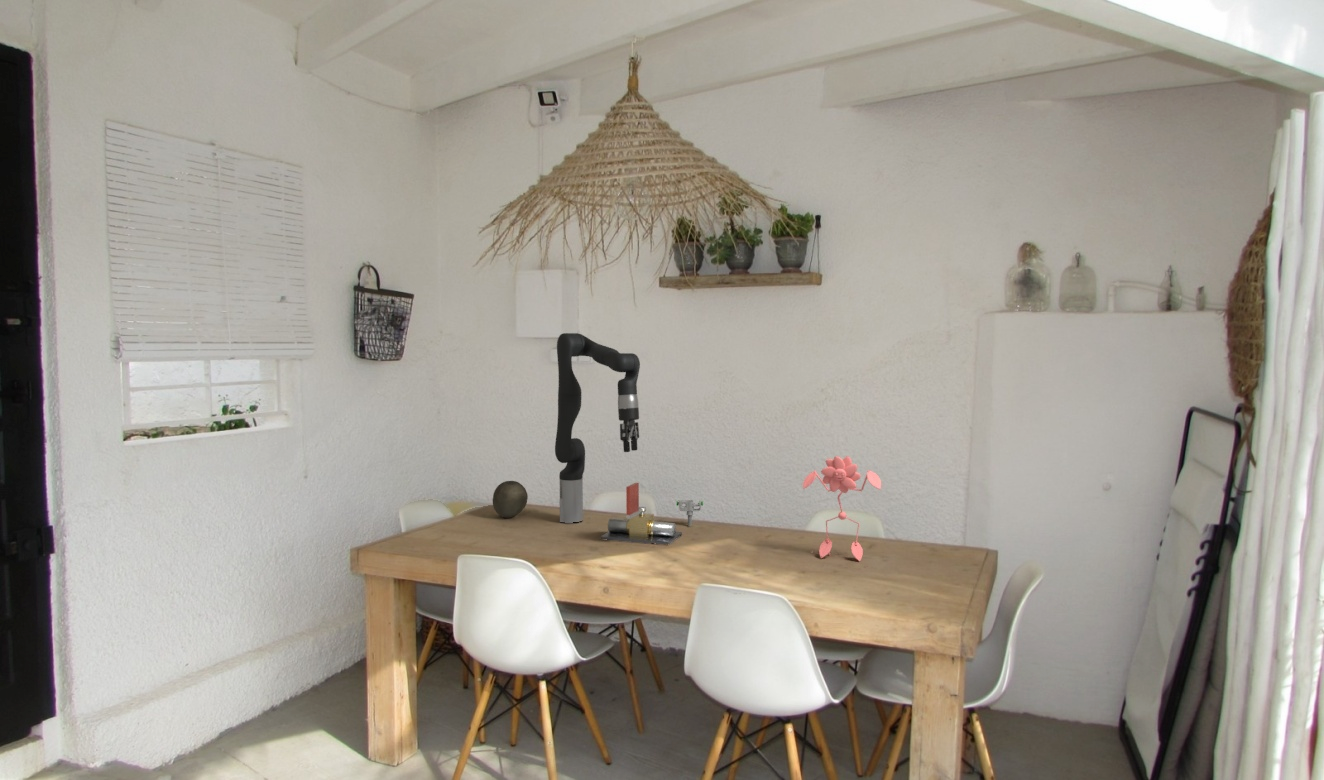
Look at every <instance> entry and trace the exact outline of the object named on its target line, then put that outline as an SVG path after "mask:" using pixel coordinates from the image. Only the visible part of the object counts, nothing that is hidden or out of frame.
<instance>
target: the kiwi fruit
mask: <svg viewBox="0 0 1324 780" xmlns="http://www.w3.org/2000/svg"><path fill="white" fill-rule="evenodd" d="M492 495H493V496H492V506H493V509H494V511H495V512H496V514H497V515H498V516H500V517H502V518H504V519H510V518H513V517H516V516H518V515H519V514H520V513H521V512H522V511H523V510H524V509H525V507H526V506H527V504H528V497H529V496H528V492H527V490H526V487H525V486H523V484H522V483H520V482H519V481H516V480H505V481H503V482H501V483H500V484H498V485H497V486H496V488H495V490H494V492H493V494H492Z"/></svg>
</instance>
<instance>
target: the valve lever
mask: <svg viewBox="0 0 1324 780" xmlns="http://www.w3.org/2000/svg"><path fill="white" fill-rule="evenodd" d="M639 484H640V482H634V483H632V484H630V485H628V486H626V490H625V491H626V496H625V499H626V514H625V518H626V519H630V518H632V517H634V516H636V515H638V514H639V513H641V512H644V513H645V512H646V511H647V507H646V506H640V501H639V498H640V496H639V495H640V494H639V493H640V486H639Z"/></svg>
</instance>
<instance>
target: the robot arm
mask: <svg viewBox="0 0 1324 780" xmlns="http://www.w3.org/2000/svg"><path fill="white" fill-rule="evenodd" d="M556 354H557V355H556V356H557V367H558V368H557V369H558V371H557V372H558V387H557V388H558V389H557V391H558V392H557V424H556V425H557V426H556V436H555V445H554V452H555V453H554V454H555V457H556V460H557V461H558V462H559V463H561V464H565V466H564V468H562V469H561V470H560V472H559V479H558V480H559V523H560V522H565V523H564V524H574V523H573V522H579V521H582V520H583V521H584V503H583V502H584V501H583V497H584V494H583V493H584V492H583V488H584V487H583V484H584V482H583V479H584V478H583V476H584V472H585V465H586V464H585V463H586V448H585V445H584V442H583V441H582V440H581V439H580V438H578V437H573V436H572V434H573V427H574V424H575V422H576V420H577V419H578V418H577V417H578V416H579V414H580V411H581V408H582V388H581V385H580V383H579V381H578V379H577V377H576V375H575V373H574V371H573V364H572V362H573V361H572V357H573V358H574V357H590V358H592V360H593V361H595V362H596V363H598V364H599V365H603V366H605V367H608V368H609V369H611V370H612V371H614V372H618V373H625V374H624V378H621V379H619V380H618V381H617V411H618V414H617V415H618V420H619V421H620V422H622V421H623V423H620V424H619V435H620V437H619V439H620V441H621V442H623V443H622V445H623V452H624V453H629V452H631V451H633V452H634V451H637V450H638V441H639V438H640V432H639V431H640V430H639V422H638V421H637V420H639V419H640V411H639V407H640V406H639V399H638V390H637V387H638V386H637V382H638V378H639V373H640V368H641V366H640V365H641V363H640V358H639V356H638V355H637V354H635V353H633V352H632V353H628V352H627V353H625V352H619V351H618V350H617V349H615V348H611V347H609V346H607V345H603V344H601V343H600V344H599V343H597V342H595V341H593V340H592V339H590V338H589V337H587V336H585V335H583V334H581V333H576V332H575V333H573V332H567V333H561V334H560V335H558V337H557V341H556ZM636 421H637V422H636ZM572 437H573V438H572ZM583 521H582V522H583ZM579 523H580V522H579Z"/></svg>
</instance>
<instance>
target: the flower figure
mask: <svg viewBox="0 0 1324 780" xmlns="http://www.w3.org/2000/svg"><path fill="white" fill-rule="evenodd" d="M825 464H826V467H824V468H822V470H820V473H821V474H822V475H823V478H821V477H820V476H819V474H818V473H817V470H813V472H810V473H809V474H808V475H807V476H806V477H805V478H804V480H803V482H802V489H803V490H805V489H807V488H808V487H809V486H811V485H812V484H813V483H814V481H815V480H816V477H817V479H818V480H819V481H820V483H821V484H822V485H823V487H824V488H825V489H826V490H827V492H832V493H835V492H837V491H838V490H840V492H839V494H838V495H837V502H838V505H839V508H840V511H839V512H838V515H837V516H835V517H833V518H830V519H827V520H826V521H825V528H826V539H824V540H823V541H822V542H821V544H820V545H819V549H818V551H819V558H820V559H823V558H824V557H826V556H831V550H832V547H833V541H832V540H831V539H830V538H829V532H828V531H829V530H828V522H829V521H833V520H835V519H839V520H842V521H844V520H846V519H847V520H849V521H851V522H853V523H856V524H857V529H856V538H855V541H853V542H852V543H851V547H850V551H851V553H852V556H853V557H854V558H855V559H856V560H858V562H861V560H862V557H863V555H864V554H863V553H864V550H863V547H862V546H861V544H860V543H859V542H858V537H859V528H860V522H858V521H855V520H853V519H852V518H850V517H847V513H846V511H843V506H842V504H841V499H840V497H841V495H842V494H847V493H848V491H849V490H850V491H851V490H852V491H855V492H857V491H858V492H863V490H864V487H865V485H866V482H867V480H868V482H869V484H870V485H871V486H873V487H874V488H875V489H877V490H881V489H882V480H881V478H880V476H879V475H878V474H877V473H875V472H874V471H871V470H870V469H867V472H866V476H865V478H864V481H863V483H862V486H861V489H860V488H857V483H856V481H858V480H859V479H861V477H862V475H861V473H859V472H857V471H858V465H857V464H856V463H854V464H853V460H852V458H851V457H850V456H845V457H844V458H841V457H839V456H837V455H836V456H834V457H833V459H832V458H827V459H825ZM828 484H829V488H828V487H827V485H828ZM812 553H813V551H811V552H810V554H812Z"/></svg>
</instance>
